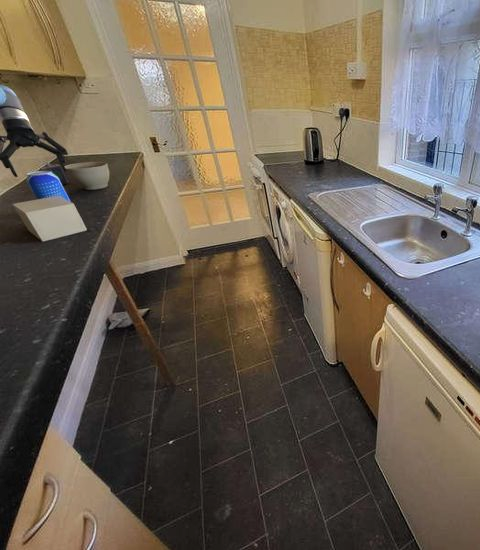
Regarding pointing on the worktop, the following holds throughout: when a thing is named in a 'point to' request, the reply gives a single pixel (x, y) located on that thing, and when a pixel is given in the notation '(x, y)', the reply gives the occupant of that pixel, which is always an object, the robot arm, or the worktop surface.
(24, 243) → the worktop surface
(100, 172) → the planter bowl
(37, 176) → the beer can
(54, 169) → the flask
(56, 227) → the white slanted wedge
